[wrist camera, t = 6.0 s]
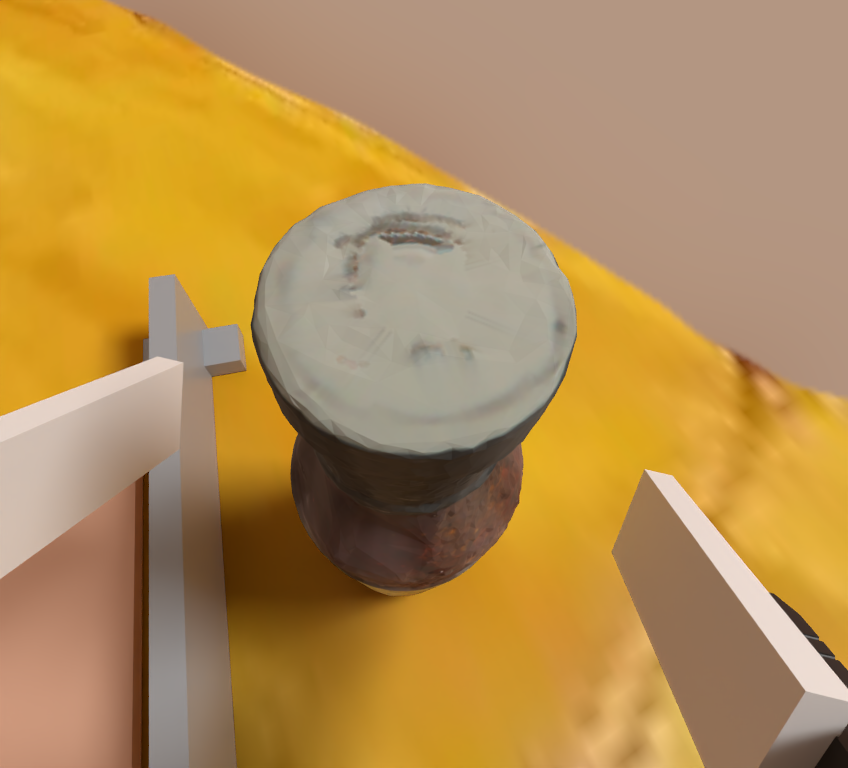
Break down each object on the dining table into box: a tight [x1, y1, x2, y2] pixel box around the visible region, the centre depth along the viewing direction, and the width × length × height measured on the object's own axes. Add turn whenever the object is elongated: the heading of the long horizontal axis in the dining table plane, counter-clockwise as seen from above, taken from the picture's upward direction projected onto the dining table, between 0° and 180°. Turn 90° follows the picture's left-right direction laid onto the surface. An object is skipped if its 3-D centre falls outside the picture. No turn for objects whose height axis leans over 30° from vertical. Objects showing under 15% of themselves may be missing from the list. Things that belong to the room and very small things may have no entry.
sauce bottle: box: [251, 184, 577, 596], centre depth 15 cm, size 7×6×20 cm
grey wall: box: [143, 274, 246, 768], centre depth 20 cm, size 5×28×5 cm, turn 14°
